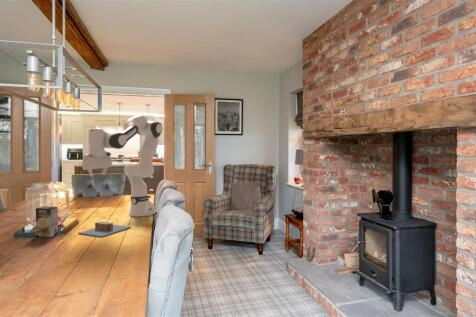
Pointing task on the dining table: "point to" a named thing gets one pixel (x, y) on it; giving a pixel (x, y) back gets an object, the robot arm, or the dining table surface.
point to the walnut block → (103, 226)
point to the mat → (104, 233)
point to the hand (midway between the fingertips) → (98, 175)
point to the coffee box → (46, 221)
